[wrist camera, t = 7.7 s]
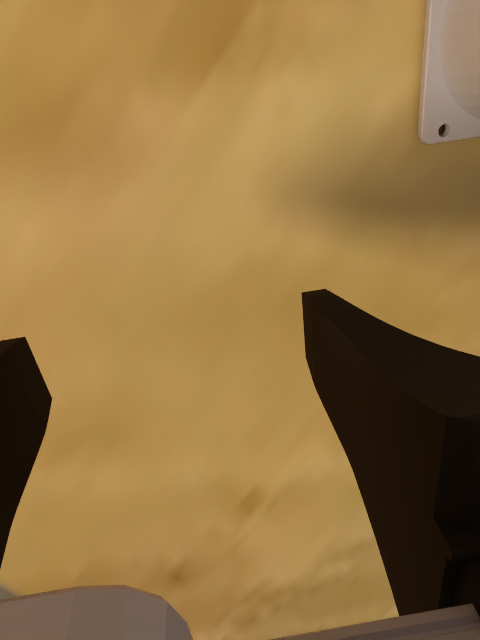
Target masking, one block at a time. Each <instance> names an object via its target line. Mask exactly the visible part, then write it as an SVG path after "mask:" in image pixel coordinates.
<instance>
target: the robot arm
mask: <svg viewBox="0 0 480 640" xmlns="http://www.w3.org/2000/svg"><path fill="white" fill-rule="evenodd" d="M443 124H445V127H446V129H445V132H444V133H443V134H442V135H440V136H439V134H438V130H439V128H440V126H441V125H443ZM476 137H480V0H427V7H426V22H425V36H424V51H423V65H422V80H421V95H420V109H419V124H418V138H419V139H420V141H421V142H423V143H425V144H436V143H443V142H450V141H456V140H463V139H469V138H476ZM302 305H303V321H304V336H305V352H306V359H307V363H308V366H309V369H310V373H311V376H312V379H313V382H314V385H315V388H316V390H317V393H318V395H319V397H320V399H321V401H322V404H323V406H324V408H325V410H326V412H327V414H328V416H329V419H330V421H331V423H332V425H333V427H334V429H335V431H336V433H337V436H338V438H339V440H340V442H341V444H342V446H343V448H344V450H345V453H346V455H347V457H348V460H349V462H350V464H351V467H352V469H353V472H354V475H355V478H356V481H357V484H358V487H359V490H360V493H361V496H362V498H363V501H364V504H365V507H366V510H367V513H368V517H369V520H370V523H371V526H372V529H373V532H374V535H375V538H376V541H377V544H378V547H379V551H380V554H381V557H382V560H383V564H384V567H385V570H386V573H387V576H388V580H389V583H390V586H391V589H392V593H393V596H394V600H395V603H396V606H397V610H398V613H399V617H393V618H388V619H382V620H377V621H371V622H365V623H360V624H354V625H349V626H343V627H338V628H332V629H326V630H321V631H315V632H310V633H304V634H298V635H293V636H287V637H282V638H276V639H270V640H480V357H479V356H475V355H472V354H468V353H464V352H461V351H457V350H454V349H451V348H447V347H444V346H441V345H438V344H436V343H433V342H430V341H427V340H425V339H422V338H419V337H417V336H414V335H412V334H409V333H407V332H405V331H402V330H400V329H398V328H396V327H394V326H392V325H390V324H388V323H385V322H383V321H382V320H380V319H378V318H376V317H374V316H372V315H370V314H368V313H366V312H365V311H363V310H361V309H359V308H358V307H356V306H354V305H352V304H351V303H349V302H347V301H346V300H344V299H342V298H340V297H339V296H337V295H335V294H334V293H332V292H330V291H328V290H326V289H322V290H315V291H309V292H303V293H302ZM51 402H52V397H51V395H50V393H49V390H48V388H47V386H46V384H45V381H44V379H43V377H42V374H41V372H40V370H39V367H38V365H37V363H36V361H35V358H34V356H33V354H32V351H31V349H30V347H29V345H28V342H27V340H26V338H25V337H21V338H15V339H9V340H3V341H0V568H1V564H2V560H3V556H4V552H5V548H6V544H7V540H8V536H9V532H10V528H11V525H12V522H13V519H14V516H15V513H16V510H17V507H18V504H19V502H20V499H21V496H22V494H23V491H24V489H25V486H26V483H27V481H28V478H29V475H30V473H31V470H32V467H33V465H34V462H35V460H36V457H37V454H38V451H39V449H40V446H41V443H42V440H43V437H44V435H45V431H46V427H47V423H48V418H49V413H50V407H51ZM0 640H193V638H192V635H191V633H190V630H189V627H188V624H187V622H186V621H185V620H184V619H183V618H182V617H181V616H180V615H179V614H178V613H177V612H176V611H175V610H174V608H173V607H172V606H171V605H170V604H169V603H168V602H167V601H166V600H165V599H163V598H162V597H161V596H159V595H155V594H152V593H149V592H146V591H143V590H139V589H136V588H133V587H130V586H126V585H96V586H77V587H71V588H65V589H59V590H54V591H48V592H42V593H36V594H31V595H25V596H19V597H14V598H8V599H3V600H0Z"/></svg>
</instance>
